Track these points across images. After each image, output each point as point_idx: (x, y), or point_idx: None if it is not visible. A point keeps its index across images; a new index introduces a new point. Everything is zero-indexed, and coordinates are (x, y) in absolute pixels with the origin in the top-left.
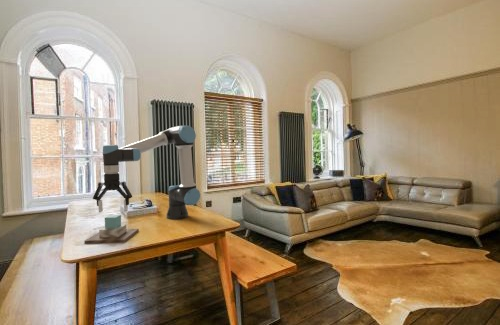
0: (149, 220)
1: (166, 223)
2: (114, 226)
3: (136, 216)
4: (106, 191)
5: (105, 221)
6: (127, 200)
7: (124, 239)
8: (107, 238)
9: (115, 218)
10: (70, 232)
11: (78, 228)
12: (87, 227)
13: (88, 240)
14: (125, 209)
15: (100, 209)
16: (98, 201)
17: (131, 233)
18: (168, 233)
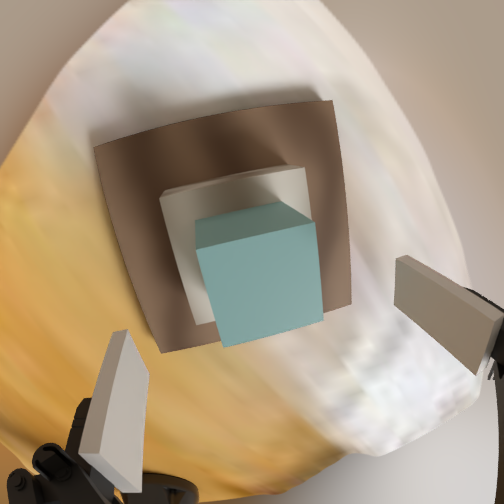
0: (235, 457)
1: None
2: (209, 221)
3: (317, 465)
4: (500, 487)
5: (295, 215)
6: (67, 451)
7: (94, 151)
8: (217, 147)
9: (202, 245)
10: (461, 262)
11: None
12: None
13: (311, 103)
14: (109, 348)
15: (413, 277)
16: (494, 310)
17: (131, 267)
18: (10, 328)
